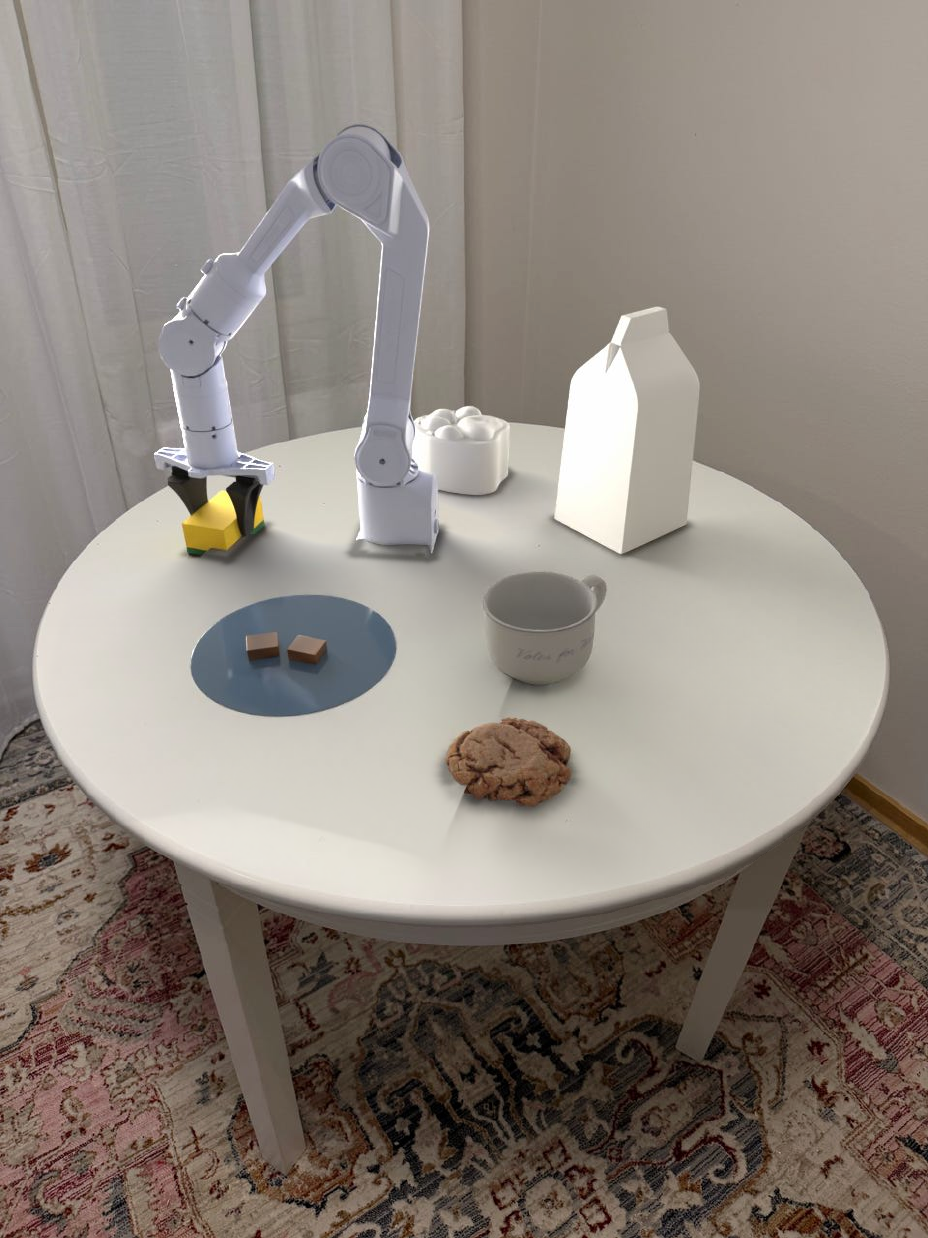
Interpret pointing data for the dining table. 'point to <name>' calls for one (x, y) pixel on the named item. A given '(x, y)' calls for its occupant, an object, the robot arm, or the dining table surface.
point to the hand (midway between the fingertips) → (225, 528)
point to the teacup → (541, 624)
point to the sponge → (216, 525)
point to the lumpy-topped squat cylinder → (462, 450)
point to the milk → (630, 437)
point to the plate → (291, 686)
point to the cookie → (510, 761)
